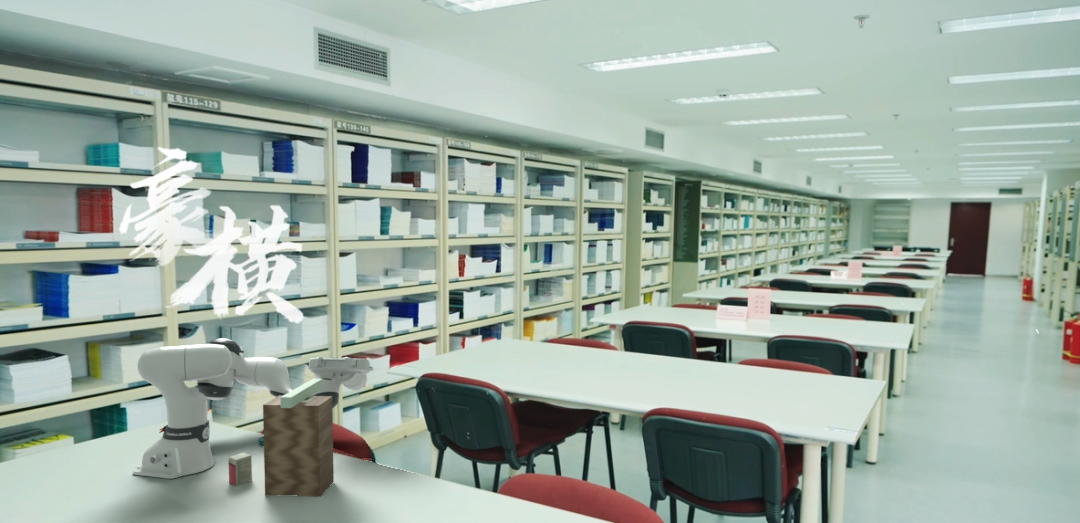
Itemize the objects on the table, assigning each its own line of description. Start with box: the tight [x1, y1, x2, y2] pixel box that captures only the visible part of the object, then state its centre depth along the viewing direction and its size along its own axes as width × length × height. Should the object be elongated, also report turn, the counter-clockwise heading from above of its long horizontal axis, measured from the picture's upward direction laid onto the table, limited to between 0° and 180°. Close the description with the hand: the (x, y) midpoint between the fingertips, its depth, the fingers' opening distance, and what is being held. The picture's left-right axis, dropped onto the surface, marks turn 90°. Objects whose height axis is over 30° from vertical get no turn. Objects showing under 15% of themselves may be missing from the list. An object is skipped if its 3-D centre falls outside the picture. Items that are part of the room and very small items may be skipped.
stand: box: [262, 395, 335, 497], centre depth 183 cm, size 16×10×26 cm, turn 87°
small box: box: [227, 452, 253, 487], centre depth 189 cm, size 5×4×8 cm
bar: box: [280, 378, 323, 408], centre depth 185 cm, size 3×22×3 cm, turn 177°
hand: (332, 359), depth 211 cm, fingers open, 8 cm apart
